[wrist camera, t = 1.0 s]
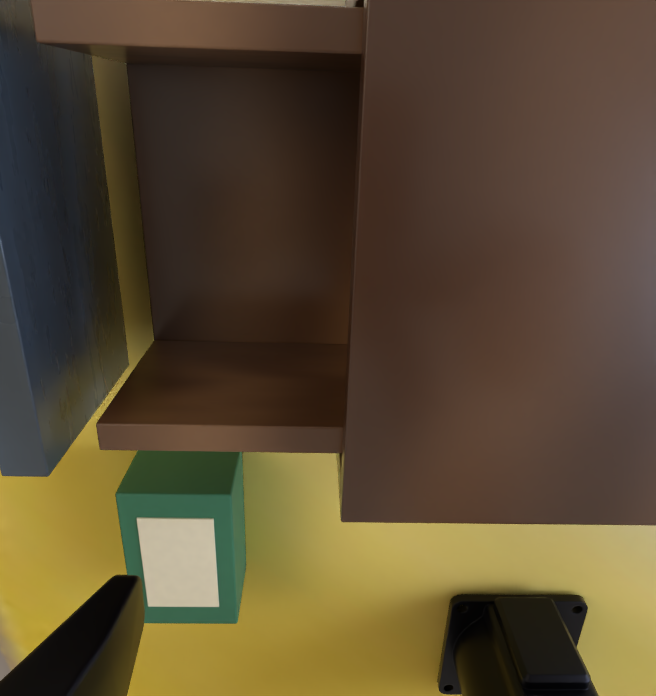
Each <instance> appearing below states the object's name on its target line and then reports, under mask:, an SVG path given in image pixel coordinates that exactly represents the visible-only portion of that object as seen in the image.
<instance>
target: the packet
mask: <svg viewBox="0 0 656 696" xmlns="http://www.w3.org/2000/svg"><path fill="white" fill-rule="evenodd" d="M115 495H116V502H117V509H118V515H119V522H120V529H121V536H122V542H123V549H124V556H125V563H126V569H127V575H137V576H139V577H140V578H141V580H142V586H143V597H144V609H145V619H144V623H218V624H236V623H237V622H238V616H239V610H240V603H241V596H242V590H243V583H244V576H245V570H246V547H245V519H244V491H243V463H242V452H216V451H144V450H138V451H137V453H136V455H135V457H134V459H133V461H132V463H131V465H130V467H129V469H128V471H127V473H126V474H125V476H124V478H123V480H122V482H121V484H120V486H119V488H118V490H117V492H116V494H115Z"/></svg>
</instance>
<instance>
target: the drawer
mask: <svg viewBox="0 0 656 696" xmlns="http://www.w3.org/2000/svg"><path fill="white" fill-rule="evenodd" d="M363 11H364V7H341V6H315V5H290V4H265V3H239V2H214V1H189V0H0V470H1V474H2V476H39V477H47V476H49V475H50V474H51V472H52V471H53V469H54V468H55V467H56V465H57V464H58V463H59V461H60V460H61V458H62V457H63V456H64V454H65V453H66V452H67V450H68V449H69V447H70V446H71V445H72V443H73V442H74V440H75V439H76V438H77V436H78V435H79V434H80V432H81V431H82V429H83V428H84V427H85V425H86V424H87V423H88V421H89V420H90V418H91V417H92V416H93V414H94V413H95V411H96V410H97V409H98V407H99V406H100V405H101V403H102V402H103V400H104V399H105V398H106V396H107V395H108V394H109V392H110V391H111V389H112V388H113V387H114V385H115V384H116V382H117V381H118V380H119V378H120V377H121V376H122V374H123V373H124V371H125V370H126V369H127V367H128V366H129V358H128V350H127V342H126V334H125V326H124V317H123V309H122V301H121V293H120V285H119V277H118V268H117V260H116V252H115V244H114V236H113V227H112V219H111V211H110V203H109V195H108V187H107V178H106V170H105V162H104V154H103V146H102V137H101V129H100V121H99V113H98V105H97V97H96V88H95V80H94V72H93V64H92V56H96V57H101V58H105V59H109V60H113V61H118V62H122V63H126V65H127V75H128V85H129V95H130V105H131V115H132V125H133V135H134V145H135V155H136V165H137V175H138V184H139V194H140V204H141V214H142V224H143V234H144V244H145V254H146V264H147V274H148V284H149V294H150V304H151V314H152V324H153V333H154V341H153V343H152V344H151V345H150V347H149V348H148V350H147V351H146V353H145V354H144V356H143V357H142V358H141V360H140V361H139V363H138V364H137V366H136V367H135V369H134V370H133V371H132V373H131V374H130V376H129V377H128V379H127V380H126V381H125V383H124V384H123V386H122V387H121V389H120V390H119V392H118V393H117V394H116V396H115V397H114V399H113V400H112V402H111V403H110V405H109V406H108V407H107V409H106V410H105V412H104V413H103V415H102V416H101V418H100V419H99V420H98V422H97V423H96V427H97V434H98V440H99V447H100V450H144V451H216V452H287V453H342V444H343V424H344V403H345V383H346V362H347V341H348V321H349V300H350V279H351V259H352V238H353V218H354V197H355V176H356V156H357V135H358V114H359V94H360V73H361V53H362V32H363ZM91 55H92V56H91Z"/></svg>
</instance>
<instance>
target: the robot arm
mask: <svg viewBox="0 0 656 696" xmlns="http://www.w3.org/2000/svg"><path fill="white" fill-rule="evenodd" d="M460 605H463V606H460ZM587 610H588V607H587V605H586V603H585V601H584V599H583V598H582V597H581V596H578V595H478V594H461V595H456V596H454V597H453V598H452V599H451V601H450V604H449V610H448V617H447V623H446V629H445V635H444V642H443V648H442V654H441V661H440V667H439V673H438V679H437V682H438V687H439V691H440V692H441V693H443V694H462V696H598V694H597V691H596V689H595V687H594V685H593V683H592V681H591V678H590V675H589V673H588V670H587V668H586V666H585V664H584V662H583V660H582V658H581V656H580V654H579V652H578V650H577V648H576V647H577V644H578V640H579V637H580V634H581V630H582V627H583V623H584V620H585V617H586V613H587ZM144 619H145V609H144V597H143V586H142V580H141V578H140V577H139V576H137V575H115V576H113V577H112V578H111V579H109V580H108V581H107V582H106V583H105V584H104V585H103V586H102V587H101V588H100V589H99V590H98V591H97V592H95V593H94V594H93V595H92V596H91V597H90V598H89V599H88V600H87V601H86V602H85V603H84V604H83V605H82V606H80V607H79V608H78V609H77V610H76V611H75V612H74V613H73V614H72V615H71V616H70V617H69V618H68V619H67V620H65V621H64V622H63V623H62V624H61V625H60V626H59V627H58V628H57V629H56V630H55V631H54V632H53V633H52V634H50V635H49V636H48V637H47V638H46V639H45V640H44V641H43V642H42V643H41V644H40V645H39V646H38V647H36V648H35V649H34V650H33V651H32V652H31V653H30V654H29V655H28V656H27V657H26V658H25V659H24V660H23V661H21V662H20V663H19V664H18V665H17V666H16V667H15V668H14V669H13V670H12V671H11V672H10V673H9V674H8V675H7V676H5V677H4V678H3V679H2V680H1V681H0V696H127V693H128V689H129V685H130V681H131V677H132V672H133V668H134V664H135V660H136V656H137V652H138V647H139V643H140V639H141V635H142V631H143V626H144Z"/></svg>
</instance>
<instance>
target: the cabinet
mask: <svg viewBox="0 0 656 696" xmlns="http://www.w3.org/2000/svg"><path fill="white" fill-rule="evenodd" d="M345 7H364V11H363V32H362V53H361V73H360V94H359V114H358V135H357V156H356V176H355V197H354V218H353V238H352V259H351V279H350V300H349V321H348V341H347V362H346V383H345V403H344V424H343V444H342V453H337V465H338V482H339V498H340V515H341V521H342V522H384V523H482V524H581V525H656V0H346V1H345Z"/></svg>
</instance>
